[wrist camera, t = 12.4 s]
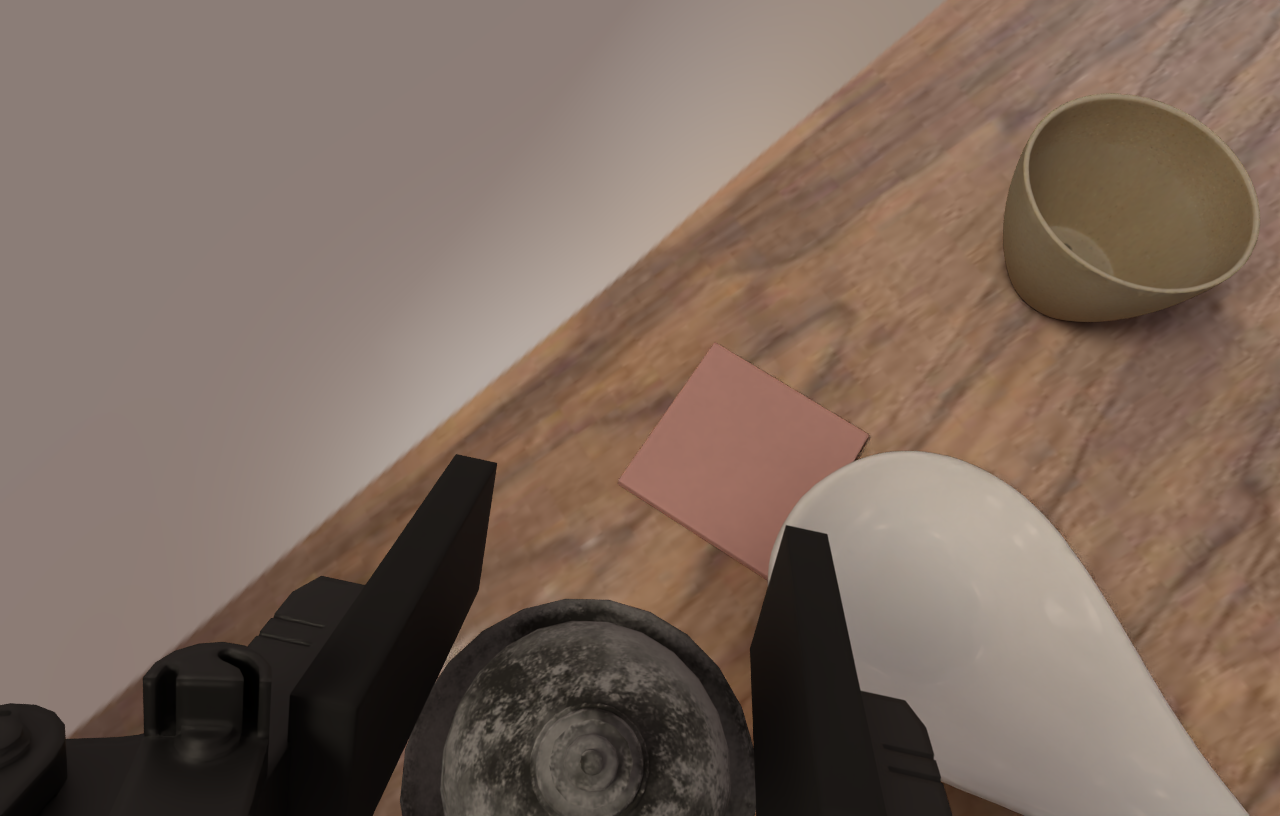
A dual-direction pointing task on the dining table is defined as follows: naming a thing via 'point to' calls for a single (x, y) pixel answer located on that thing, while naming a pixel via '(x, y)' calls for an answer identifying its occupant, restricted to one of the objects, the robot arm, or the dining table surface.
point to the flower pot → (1124, 210)
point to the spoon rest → (1000, 644)
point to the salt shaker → (580, 722)
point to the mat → (738, 456)
